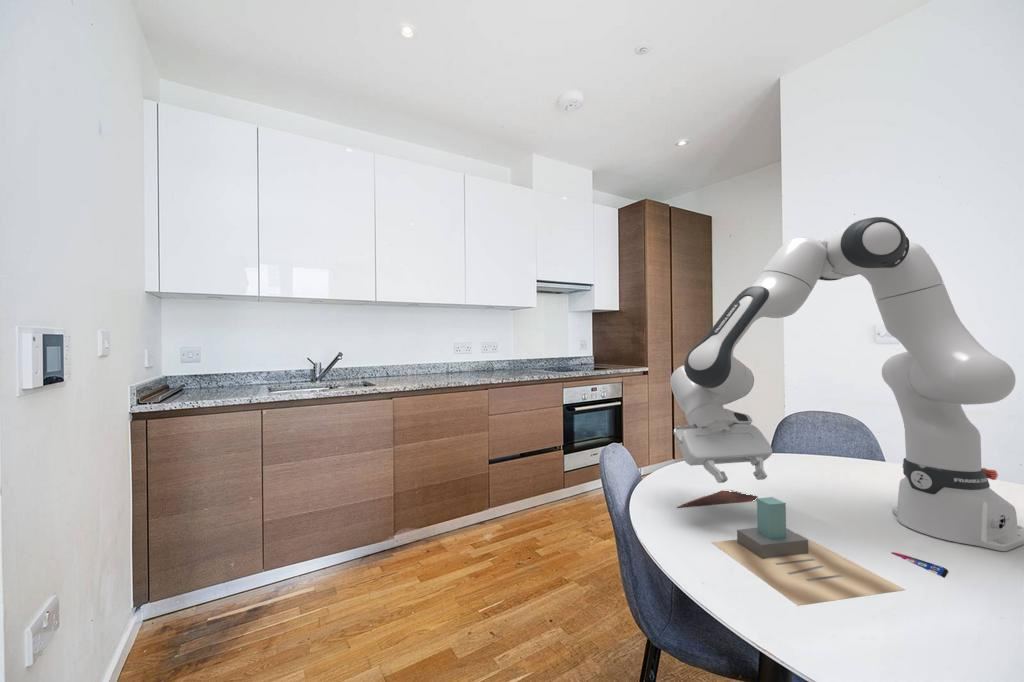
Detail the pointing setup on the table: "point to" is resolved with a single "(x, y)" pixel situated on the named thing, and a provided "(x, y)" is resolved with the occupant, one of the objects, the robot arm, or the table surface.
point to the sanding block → (771, 532)
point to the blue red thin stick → (924, 565)
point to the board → (811, 574)
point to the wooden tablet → (720, 499)
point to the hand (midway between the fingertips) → (743, 480)
